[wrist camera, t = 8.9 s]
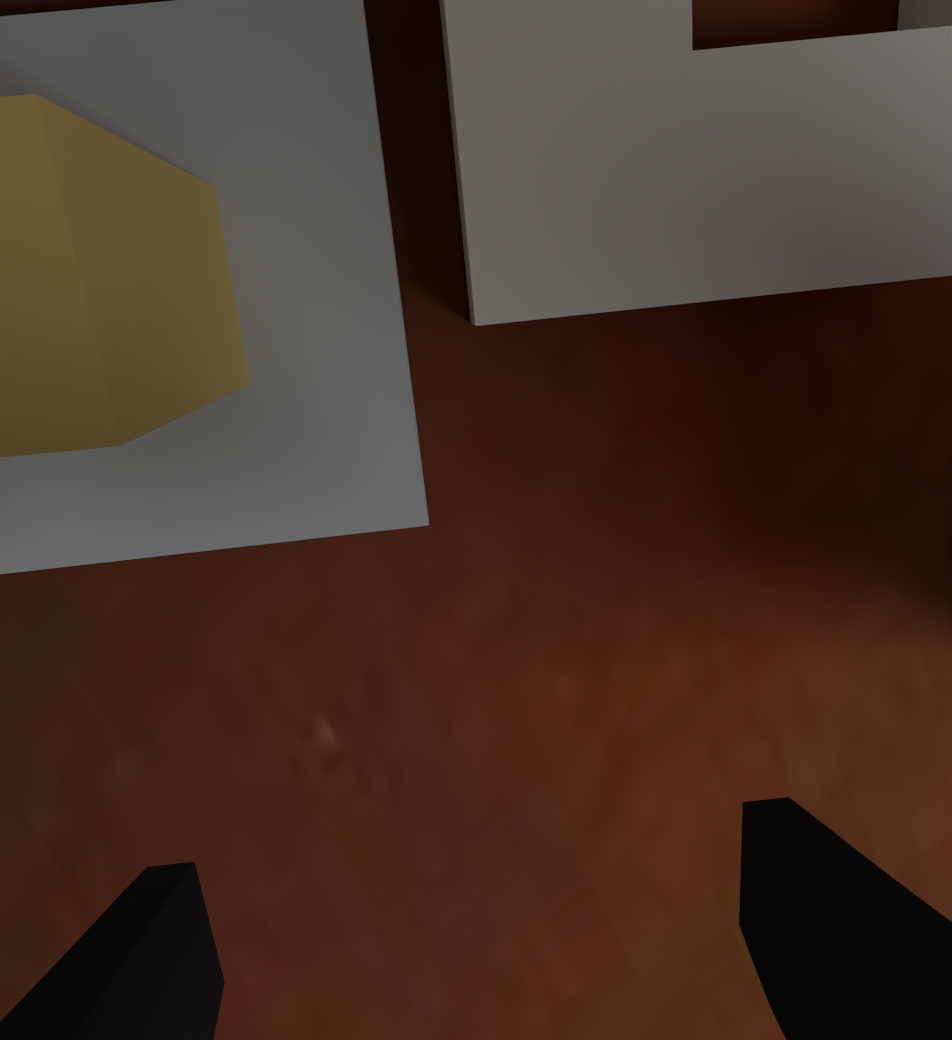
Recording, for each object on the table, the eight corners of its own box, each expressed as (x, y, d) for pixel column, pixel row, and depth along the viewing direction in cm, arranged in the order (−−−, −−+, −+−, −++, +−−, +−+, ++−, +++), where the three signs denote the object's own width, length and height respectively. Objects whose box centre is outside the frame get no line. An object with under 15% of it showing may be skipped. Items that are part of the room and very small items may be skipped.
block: (215, 186, 15) (36, 94, 8) (250, 383, 16) (120, 445, 9) (16, 204, 15) (-333, 124, 8) (67, 401, 16) (-199, 477, 9)
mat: (362, -7, 14) (360, -17, 14) (428, 519, 18) (428, 525, 17) (-203, 45, 14) (-225, 37, 13) (-27, 571, 17) (-41, 578, 17)
